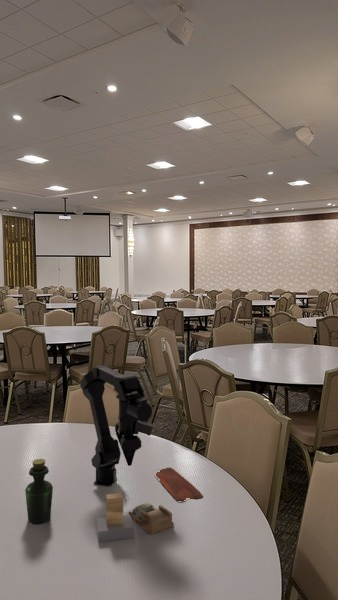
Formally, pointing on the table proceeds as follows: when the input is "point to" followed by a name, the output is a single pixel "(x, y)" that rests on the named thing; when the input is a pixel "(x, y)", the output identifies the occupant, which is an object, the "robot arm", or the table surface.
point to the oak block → (114, 509)
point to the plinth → (114, 530)
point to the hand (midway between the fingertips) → (127, 459)
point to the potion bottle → (39, 494)
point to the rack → (152, 517)
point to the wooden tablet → (177, 485)
